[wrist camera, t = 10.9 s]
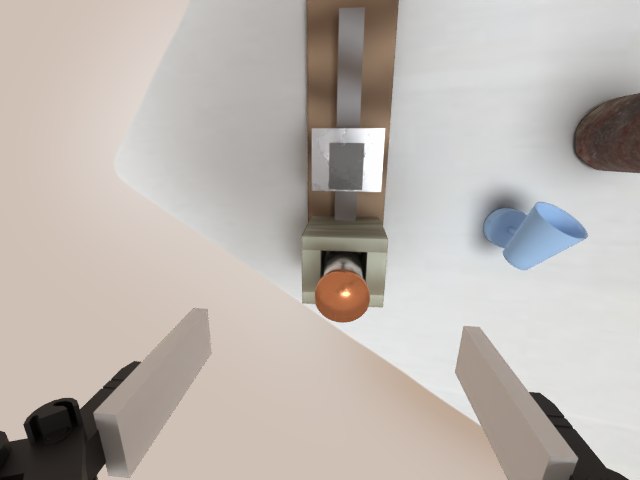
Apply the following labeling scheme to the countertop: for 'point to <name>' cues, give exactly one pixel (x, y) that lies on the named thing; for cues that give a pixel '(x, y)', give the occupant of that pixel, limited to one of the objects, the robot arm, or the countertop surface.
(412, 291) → the countertop surface
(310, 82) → the rail
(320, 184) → the carriage
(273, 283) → the countertop surface
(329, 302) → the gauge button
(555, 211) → the spotlight
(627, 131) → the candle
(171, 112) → the countertop surface
